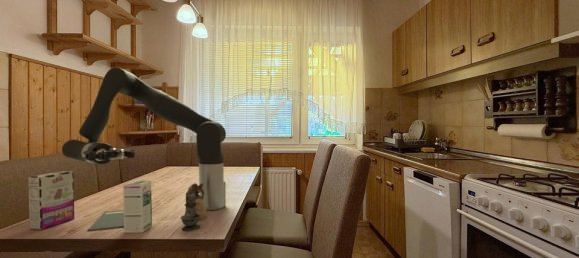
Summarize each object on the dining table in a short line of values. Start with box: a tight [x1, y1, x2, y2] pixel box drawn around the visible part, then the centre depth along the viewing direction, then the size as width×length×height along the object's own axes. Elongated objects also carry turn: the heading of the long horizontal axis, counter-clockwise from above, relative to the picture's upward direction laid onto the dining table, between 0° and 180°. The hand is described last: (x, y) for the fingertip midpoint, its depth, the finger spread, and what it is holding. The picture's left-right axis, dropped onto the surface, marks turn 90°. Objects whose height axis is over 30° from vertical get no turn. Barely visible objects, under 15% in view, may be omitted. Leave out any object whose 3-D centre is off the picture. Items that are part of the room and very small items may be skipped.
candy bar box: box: [27, 170, 75, 231], centre depth 94 cm, size 11×5×16 cm, turn 168°
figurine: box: [184, 183, 207, 222], centre depth 99 cm, size 7×7×12 cm
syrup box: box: [122, 180, 153, 234], centre depth 88 cm, size 6×6×14 cm
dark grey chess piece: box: [180, 189, 201, 232], centre depth 90 cm, size 6×6×12 cm
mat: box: [87, 209, 124, 232], centre depth 98 cm, size 20×11×1 cm, turn 20°
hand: (119, 155), depth 94 cm, fingers open, 8 cm apart
